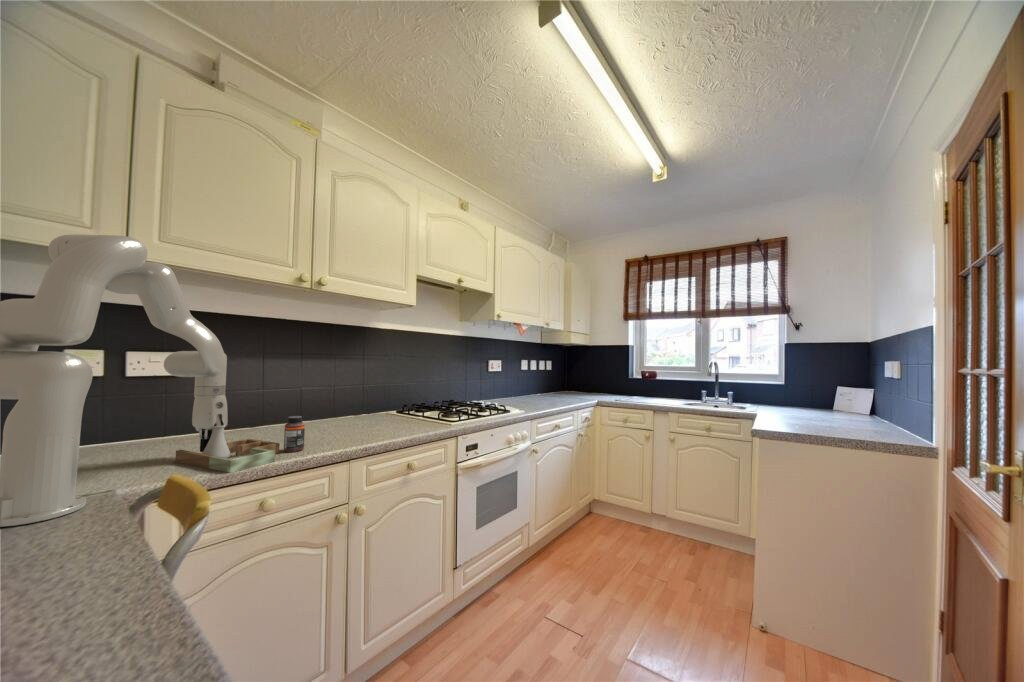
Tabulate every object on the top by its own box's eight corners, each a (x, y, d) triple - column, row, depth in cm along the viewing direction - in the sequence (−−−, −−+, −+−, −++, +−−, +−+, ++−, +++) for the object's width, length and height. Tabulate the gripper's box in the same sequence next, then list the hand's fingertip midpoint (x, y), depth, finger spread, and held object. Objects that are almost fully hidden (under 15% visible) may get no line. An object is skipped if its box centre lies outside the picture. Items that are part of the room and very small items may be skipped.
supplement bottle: (290, 448, 128) (292, 415, 128) (307, 448, 128) (309, 415, 128) (279, 452, 122) (281, 417, 122) (296, 452, 122) (298, 418, 122)
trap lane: (230, 472, 100) (230, 460, 100) (175, 461, 109) (175, 450, 109) (296, 455, 118) (296, 445, 118) (244, 447, 127) (245, 438, 127)
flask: (214, 462, 109) (217, 428, 109) (193, 460, 110) (196, 426, 110) (236, 456, 116) (239, 424, 116) (216, 453, 117) (219, 421, 117)
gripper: (238, 391, 116) (236, 451, 115) (208, 389, 121) (205, 445, 121) (211, 394, 109) (208, 457, 108) (181, 391, 114) (178, 451, 114)
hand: (207, 451), depth 114 cm, fingers closed
